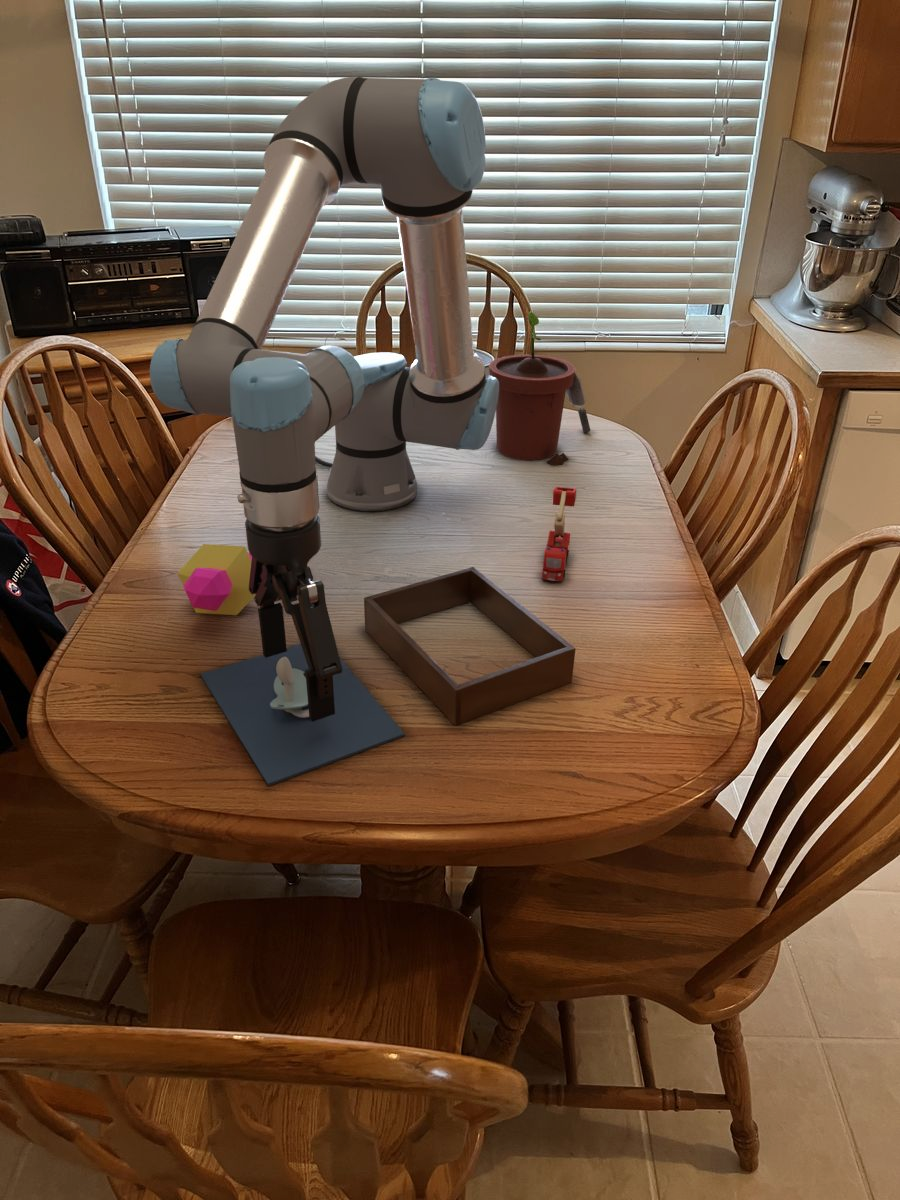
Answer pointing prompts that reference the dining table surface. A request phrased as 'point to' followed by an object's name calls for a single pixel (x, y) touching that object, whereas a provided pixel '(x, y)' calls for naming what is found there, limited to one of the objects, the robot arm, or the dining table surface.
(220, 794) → the dining table surface
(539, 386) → the potted plant
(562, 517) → the toy fire truck
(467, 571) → the open box
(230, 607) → the toy
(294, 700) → the pacifier
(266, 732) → the mat
